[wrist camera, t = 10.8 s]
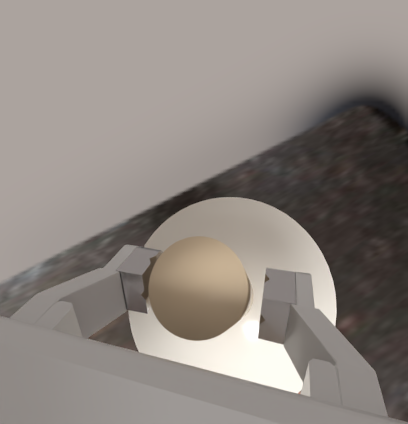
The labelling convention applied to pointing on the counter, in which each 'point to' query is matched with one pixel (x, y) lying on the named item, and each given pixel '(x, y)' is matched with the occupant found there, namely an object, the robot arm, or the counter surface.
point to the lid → (226, 288)
